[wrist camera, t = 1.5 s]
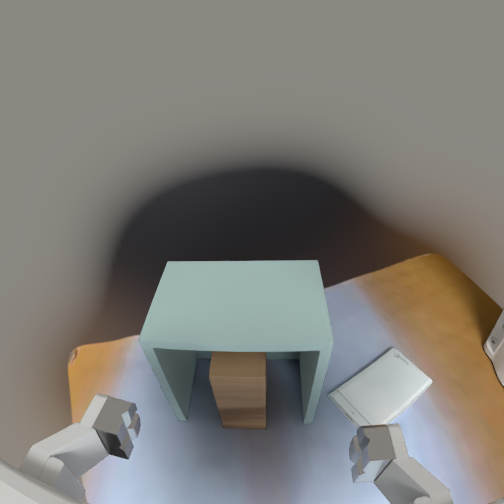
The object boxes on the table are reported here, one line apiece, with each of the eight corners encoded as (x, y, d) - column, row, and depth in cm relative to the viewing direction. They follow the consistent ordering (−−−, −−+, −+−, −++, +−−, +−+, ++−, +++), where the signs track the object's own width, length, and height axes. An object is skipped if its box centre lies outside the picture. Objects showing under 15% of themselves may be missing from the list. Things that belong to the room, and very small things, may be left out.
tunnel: (311, 423, 33) (333, 342, 24) (178, 420, 34) (138, 339, 25) (305, 352, 42) (317, 260, 33) (191, 352, 43) (167, 261, 34)
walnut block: (265, 428, 33) (265, 377, 26) (223, 427, 33) (208, 375, 26) (266, 394, 37) (265, 334, 30) (226, 393, 37) (214, 333, 30)
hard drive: (393, 346, 40) (328, 392, 35) (433, 381, 35) (371, 437, 30) (390, 353, 41) (326, 398, 36) (429, 387, 35) (367, 442, 30)
